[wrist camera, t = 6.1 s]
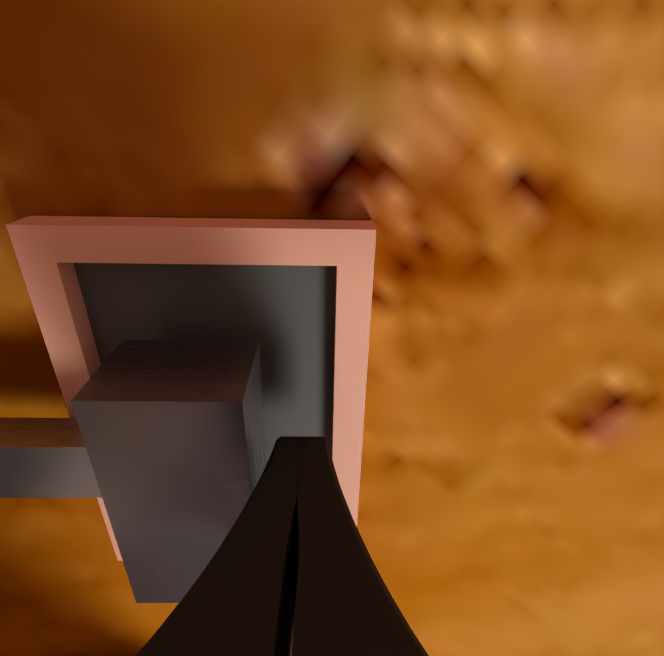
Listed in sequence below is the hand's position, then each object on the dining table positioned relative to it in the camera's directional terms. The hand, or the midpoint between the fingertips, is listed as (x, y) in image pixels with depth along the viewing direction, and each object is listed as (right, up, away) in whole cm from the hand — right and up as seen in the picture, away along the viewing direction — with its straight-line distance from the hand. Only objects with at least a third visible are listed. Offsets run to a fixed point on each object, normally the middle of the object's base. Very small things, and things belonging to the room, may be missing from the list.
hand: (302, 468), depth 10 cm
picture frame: (-2, +1, +2) cm, 3 cm away
